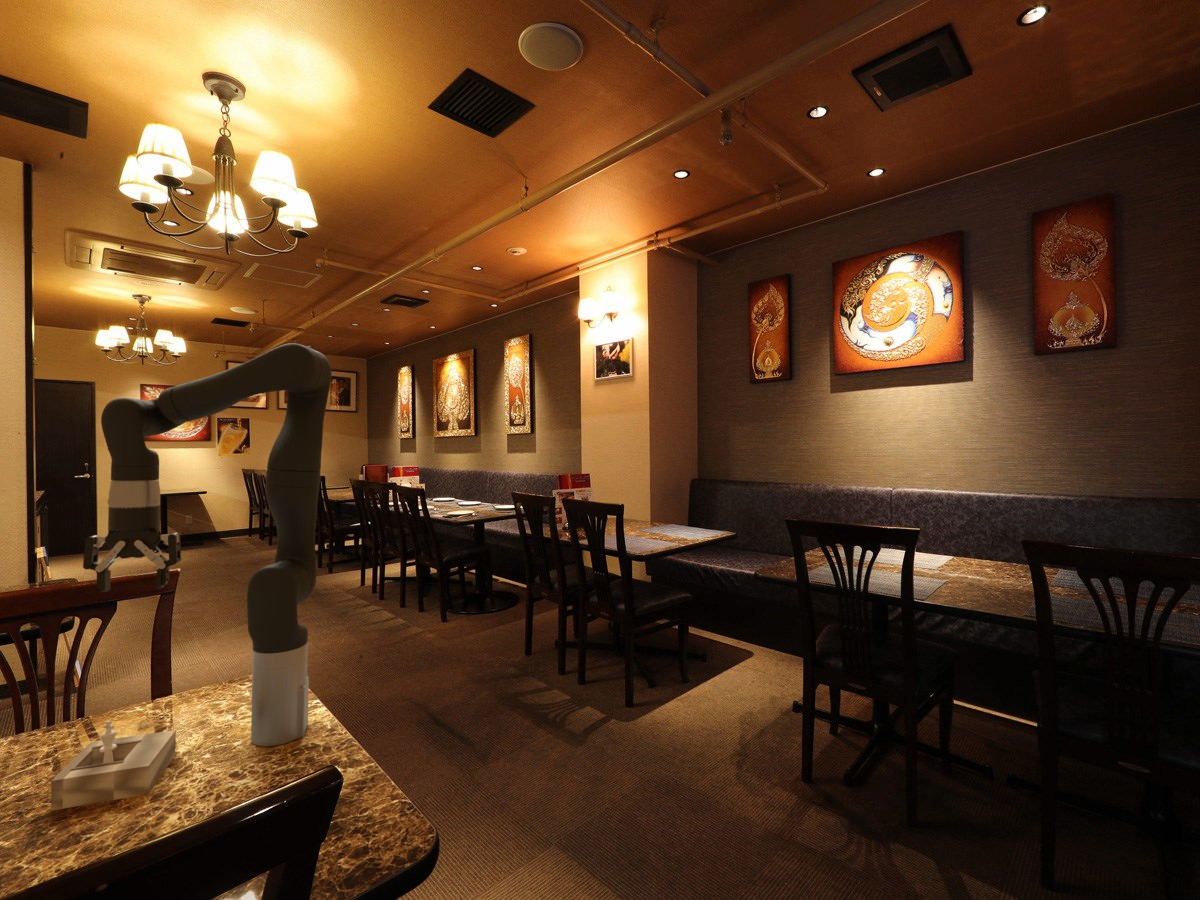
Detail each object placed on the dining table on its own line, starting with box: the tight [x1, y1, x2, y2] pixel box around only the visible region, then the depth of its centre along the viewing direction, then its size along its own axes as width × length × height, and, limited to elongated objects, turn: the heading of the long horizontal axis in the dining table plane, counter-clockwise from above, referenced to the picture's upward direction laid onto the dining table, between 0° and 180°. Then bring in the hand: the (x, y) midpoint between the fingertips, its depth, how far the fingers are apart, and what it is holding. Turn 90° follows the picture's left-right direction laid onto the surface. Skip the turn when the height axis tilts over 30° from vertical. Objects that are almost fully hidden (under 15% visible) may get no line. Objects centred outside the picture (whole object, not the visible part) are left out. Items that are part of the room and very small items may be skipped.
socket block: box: [50, 729, 177, 811], centre depth 91 cm, size 12×12×5 cm
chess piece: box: [99, 720, 117, 763], centre depth 91 cm, size 5×5×10 cm
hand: (133, 589), depth 105 cm, fingers open, 8 cm apart
